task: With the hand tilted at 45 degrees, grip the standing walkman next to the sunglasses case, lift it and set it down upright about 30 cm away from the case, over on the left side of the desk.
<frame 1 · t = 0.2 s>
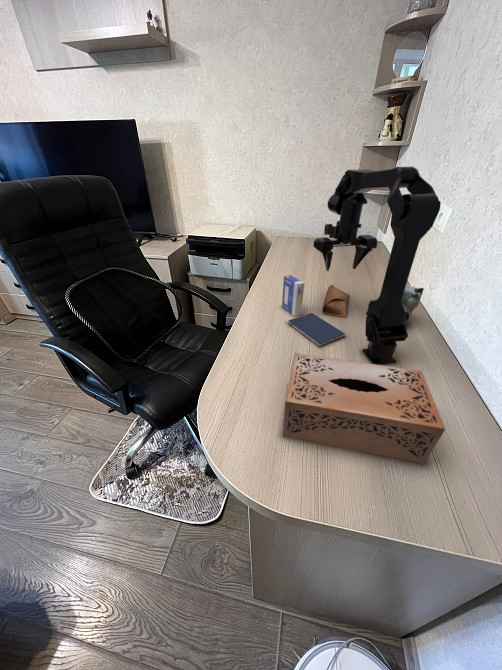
hand: (340, 269, 90), 14 cm above the table, tool pointing down, fingers open, 9 cm apart
sunglasses case: (336, 304, 101), on the table
notebook: (315, 330, 87), on the table
tissue box cover: (347, 420, 59), on the table
walkman: (291, 311, 98), on the table
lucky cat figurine: (389, 318, 93), on the table
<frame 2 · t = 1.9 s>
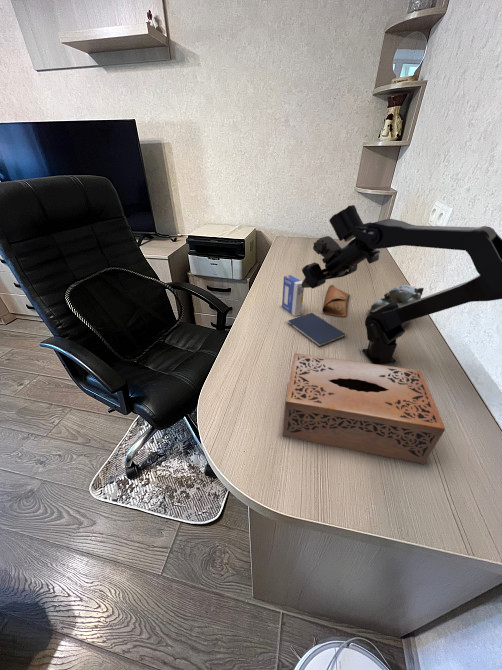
hand: (312, 282, 85), 13 cm above the table, tool tilted 45°, fingers open, 9 cm apart
nothing on the table moved.
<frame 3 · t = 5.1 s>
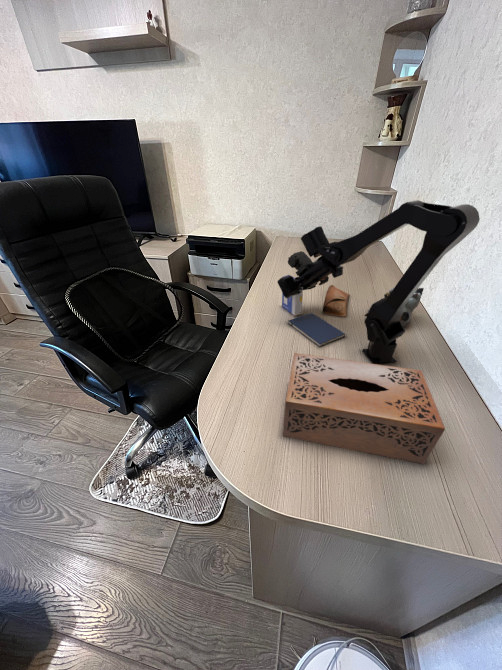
hand: (289, 291, 95), 7 cm above the table, tool tilted 45°, fingers closed on walkman, 3 cm apart
walkman: (291, 310, 98), on the table, touching gripper
everything else where it was.
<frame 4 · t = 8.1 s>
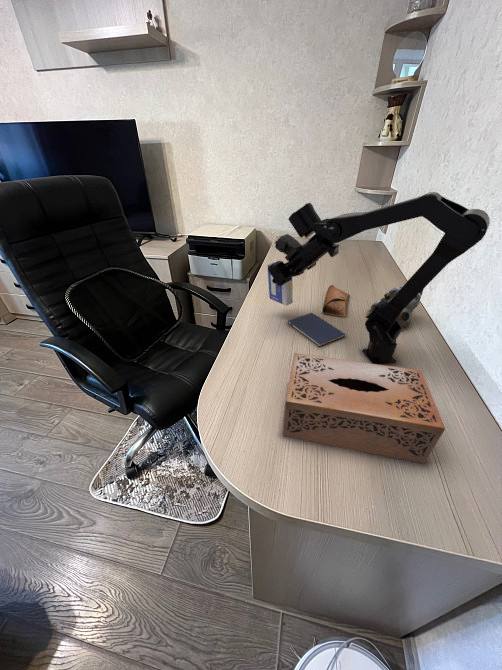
hand: (276, 280, 86), 13 cm above the table, tool tilted 45°, fingers closed on walkman, 3 cm apart
walkman: (280, 301, 90), point 6 cm above the table, touching gripper
everything else where it was.
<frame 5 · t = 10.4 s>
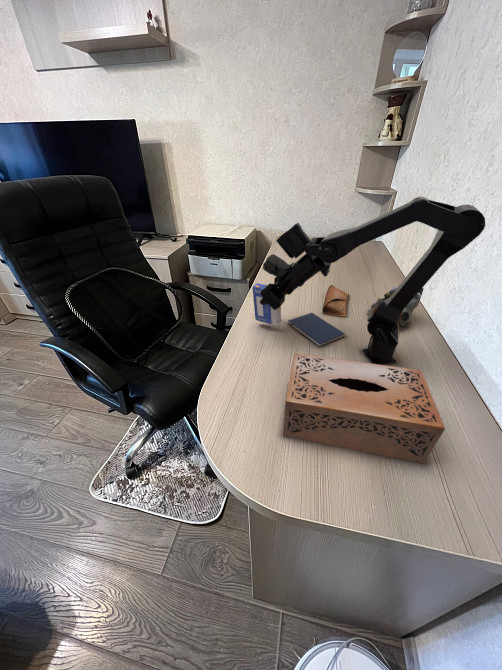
hand: (262, 301, 83), 10 cm above the table, tool tilted 45°, fingers closed on walkman, 3 cm apart
walkman: (268, 321, 87), point 3 cm above the table, touching gripper
everything else where it was.
when the fingers open (7 cm above the table, at t = 11.4 s): walkman stays where it is, on the table.
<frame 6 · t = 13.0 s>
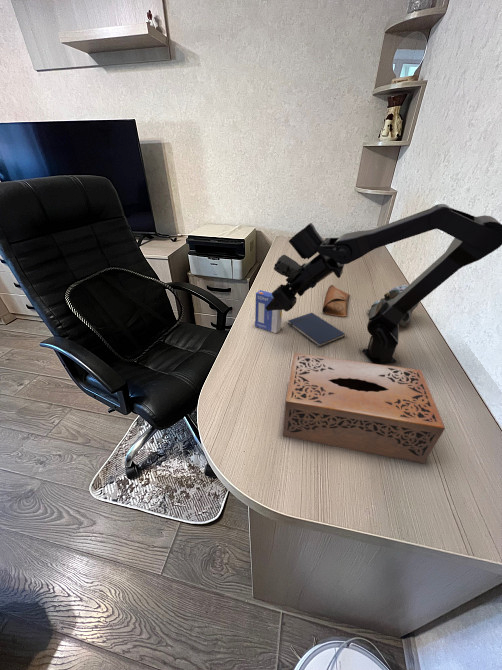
hand: (272, 302, 82), 10 cm above the table, tool tilted 45°, fingers open, 9 cm apart
walkman: (267, 328, 88), on the table
everything else where it was.
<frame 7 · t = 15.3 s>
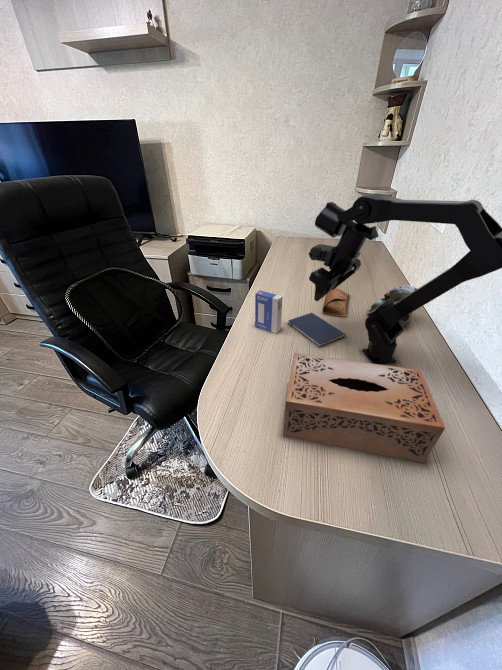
hand: (323, 294, 81), 12 cm above the table, tool tilted 20°, fingers open, 9 cm apart
nothing on the table moved.
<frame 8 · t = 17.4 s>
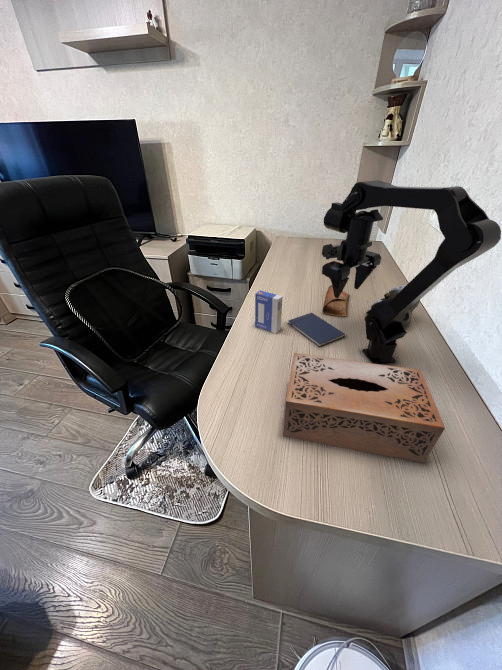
hand: (346, 293, 79), 13 cm above the table, tool pointing down, fingers open, 9 cm apart
nothing on the table moved.
at the end: walkman inside the target area (0.9 cm from its centre), on the table; walkman tilted 0°; sunglasses case moved 0.2 cm from its start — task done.
